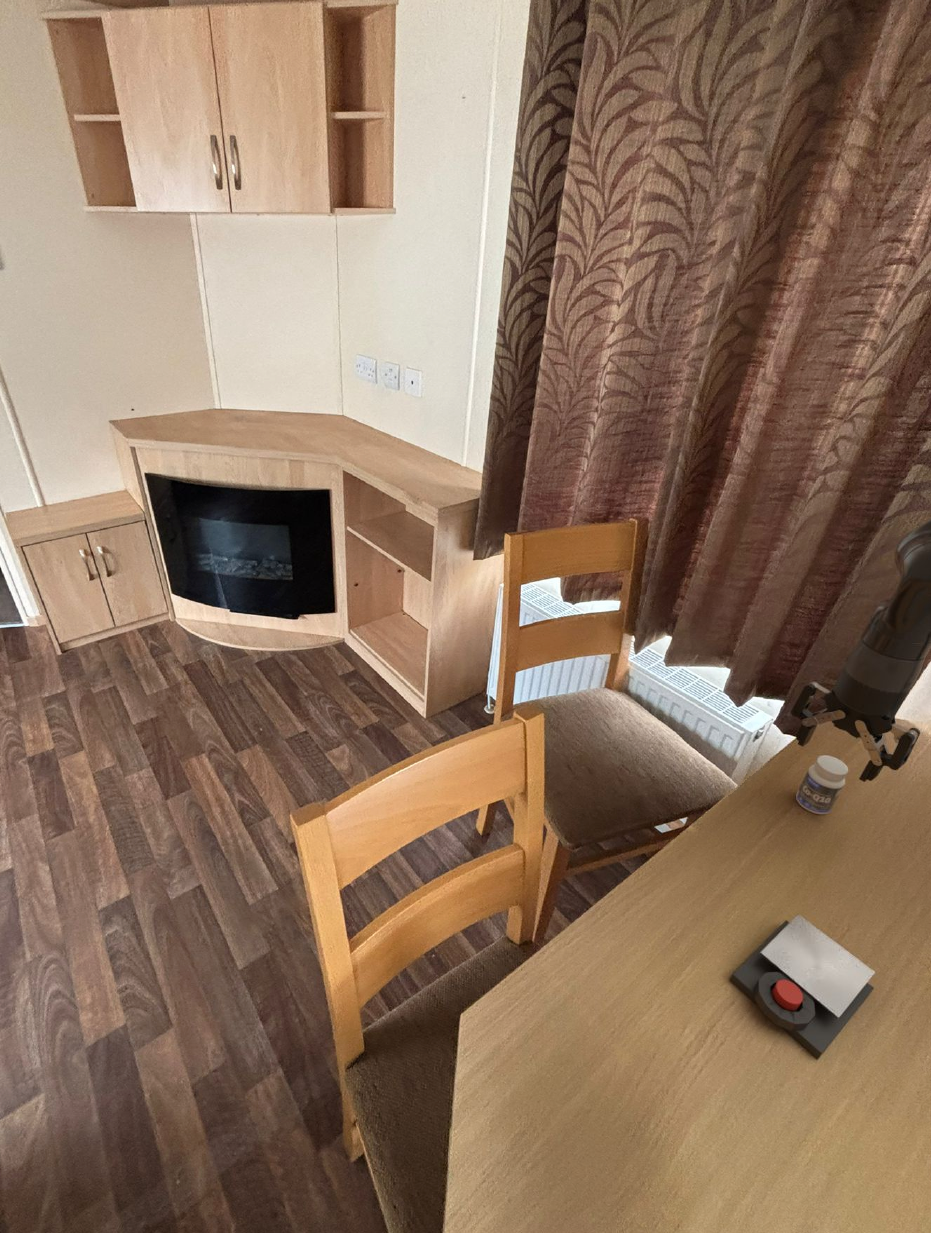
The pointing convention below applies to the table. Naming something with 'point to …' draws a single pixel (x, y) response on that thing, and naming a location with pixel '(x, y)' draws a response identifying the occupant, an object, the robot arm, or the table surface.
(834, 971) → the pan
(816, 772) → the pill bottle
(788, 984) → the tare button
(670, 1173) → the table surface
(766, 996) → the scale
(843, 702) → the robot arm
